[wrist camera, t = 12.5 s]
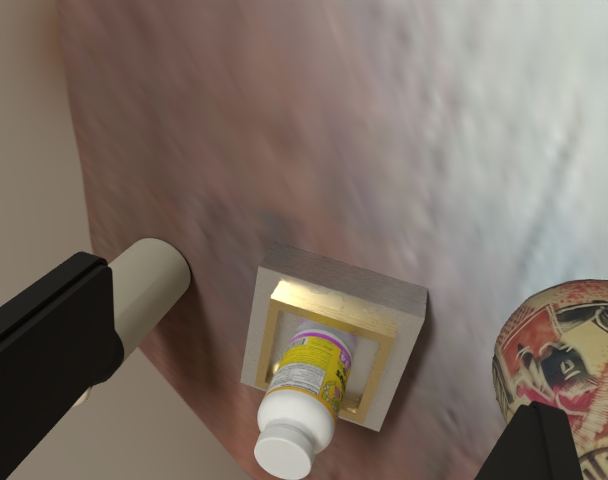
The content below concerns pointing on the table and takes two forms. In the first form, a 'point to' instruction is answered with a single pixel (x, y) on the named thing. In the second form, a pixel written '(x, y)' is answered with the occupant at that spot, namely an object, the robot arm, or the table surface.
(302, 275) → the white gold-rimmed box
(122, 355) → the travel mug
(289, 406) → the supplement bottle
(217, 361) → the table surface
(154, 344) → the table surface
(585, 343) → the ceramic jug
